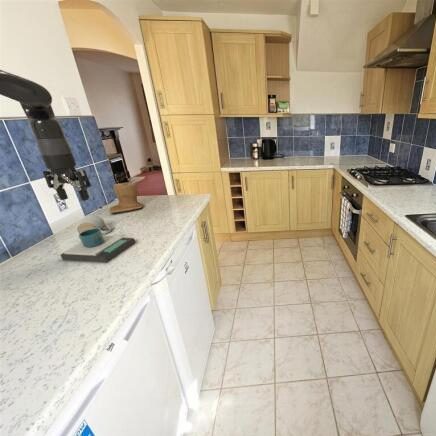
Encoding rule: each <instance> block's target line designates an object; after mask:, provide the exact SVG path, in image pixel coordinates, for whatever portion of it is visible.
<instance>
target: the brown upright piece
mask: <svg viewBox="0 0 436 436" xmlns="http://www.w3.org/2000/svg"><path fill="white" fill-rule="evenodd" d="M113 193H114V194H115V196H116V199H117V200H118V203H117V204H115V205H113V206H110V208H109V210H108V212H109V214H116V213H117V214H118V213H123V212H129V211H135V210H140V209H141V208H143V207H144V204H143V203H142V202H139V201H138V187H137V184H136V182H135V183H134V182H123V183H120V182H119V183H114V184H113Z"/></svg>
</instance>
